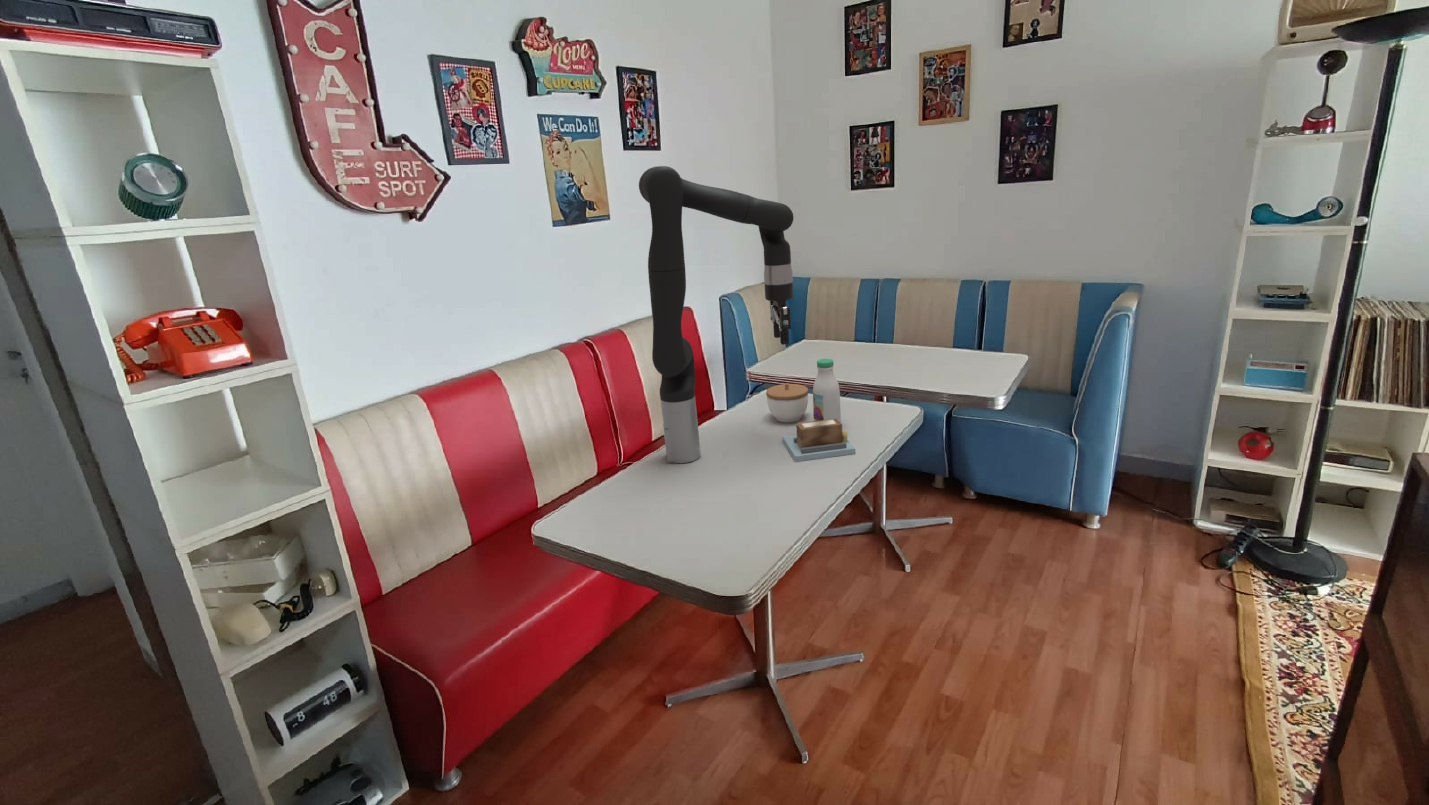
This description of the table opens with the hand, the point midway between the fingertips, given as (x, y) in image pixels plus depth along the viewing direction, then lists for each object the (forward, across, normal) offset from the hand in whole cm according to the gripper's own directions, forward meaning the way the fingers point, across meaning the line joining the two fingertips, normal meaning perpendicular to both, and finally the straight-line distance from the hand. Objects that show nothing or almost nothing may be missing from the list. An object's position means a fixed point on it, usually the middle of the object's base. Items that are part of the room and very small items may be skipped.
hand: (781, 340), depth 189 cm
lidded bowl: (+28, +14, -4) cm, 32 cm away
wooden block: (+26, -13, -6) cm, 30 cm away
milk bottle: (+28, +3, -13) cm, 31 cm away
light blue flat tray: (+28, -11, -6) cm, 31 cm away
